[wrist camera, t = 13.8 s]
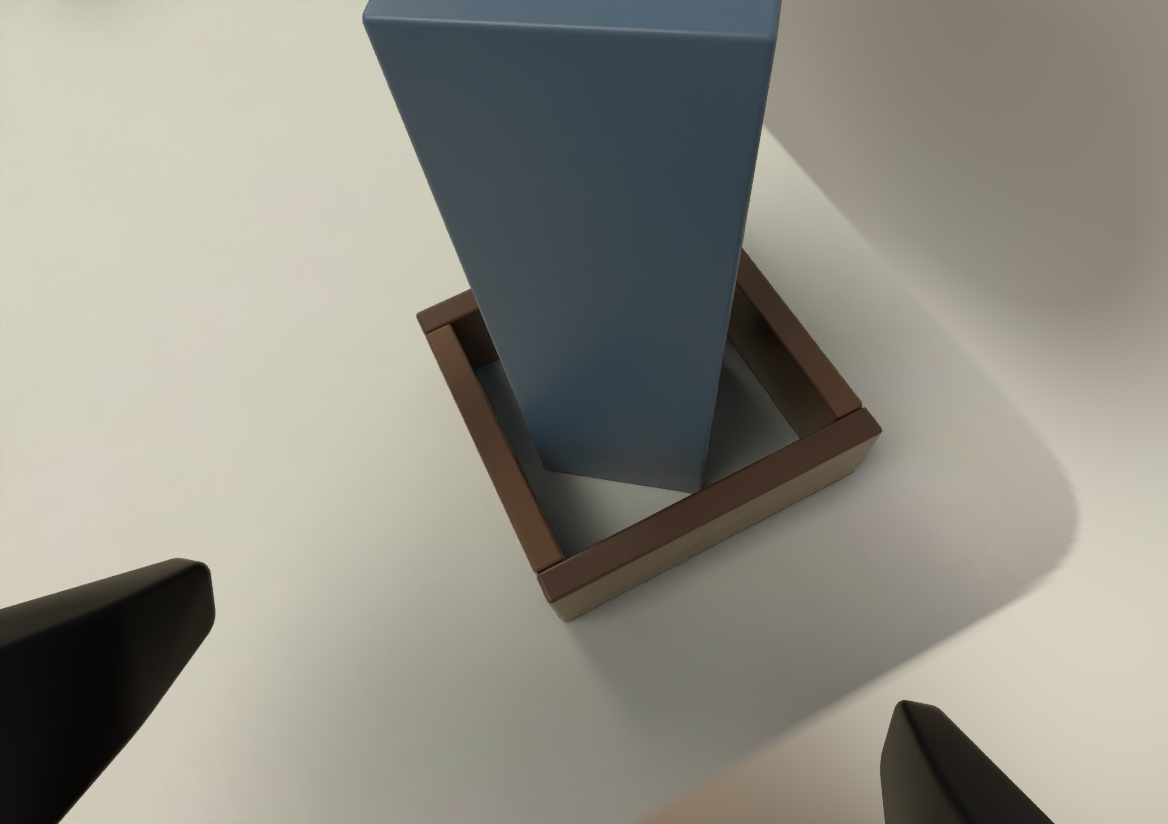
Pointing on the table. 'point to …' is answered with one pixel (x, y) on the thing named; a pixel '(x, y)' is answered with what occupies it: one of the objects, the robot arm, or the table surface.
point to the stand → (704, 518)
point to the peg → (593, 202)
